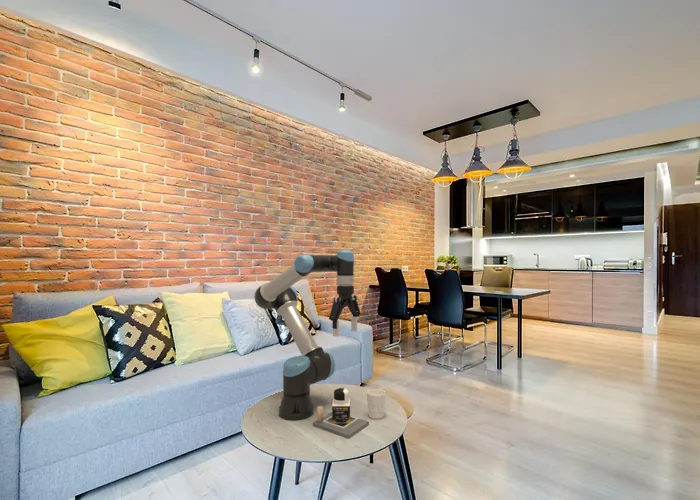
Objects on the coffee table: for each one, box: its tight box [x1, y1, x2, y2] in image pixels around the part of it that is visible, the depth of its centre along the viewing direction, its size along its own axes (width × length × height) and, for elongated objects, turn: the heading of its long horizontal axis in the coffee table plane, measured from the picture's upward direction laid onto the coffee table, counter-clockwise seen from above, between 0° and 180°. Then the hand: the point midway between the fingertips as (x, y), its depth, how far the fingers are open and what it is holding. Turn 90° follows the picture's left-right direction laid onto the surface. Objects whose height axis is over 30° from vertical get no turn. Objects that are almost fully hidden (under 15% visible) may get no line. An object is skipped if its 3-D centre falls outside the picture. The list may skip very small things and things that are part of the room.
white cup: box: [366, 388, 386, 420], centre depth 151 cm, size 8×8×10 cm
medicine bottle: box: [331, 387, 351, 423], centre depth 143 cm, size 7×7×12 cm
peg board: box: [312, 398, 370, 440], centre depth 142 cm, size 18×14×7 cm
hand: (345, 333), depth 155 cm, fingers open, 13 cm apart
